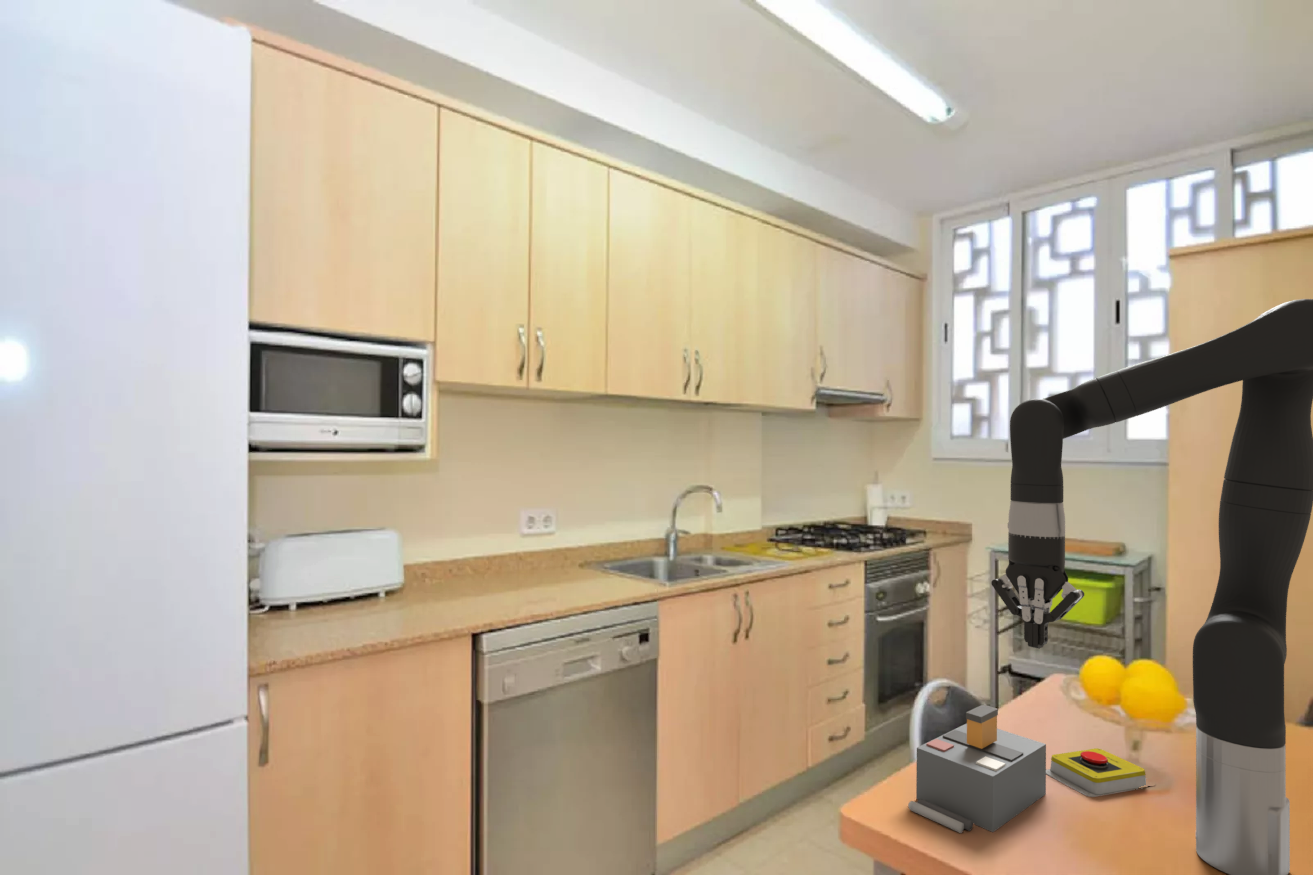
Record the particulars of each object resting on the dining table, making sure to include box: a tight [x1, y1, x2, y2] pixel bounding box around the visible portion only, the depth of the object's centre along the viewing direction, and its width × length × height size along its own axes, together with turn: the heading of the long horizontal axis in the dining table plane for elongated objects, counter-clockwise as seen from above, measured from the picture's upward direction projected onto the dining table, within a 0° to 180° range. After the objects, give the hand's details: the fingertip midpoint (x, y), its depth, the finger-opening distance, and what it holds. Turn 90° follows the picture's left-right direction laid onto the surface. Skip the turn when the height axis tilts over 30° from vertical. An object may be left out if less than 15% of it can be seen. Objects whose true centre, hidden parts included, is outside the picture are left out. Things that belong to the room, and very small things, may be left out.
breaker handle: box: [965, 704, 999, 749], centre depth 110 cm, size 2×6×5 cm, turn 129°
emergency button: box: [1046, 748, 1147, 798], centre depth 116 cm, size 9×4×15 cm
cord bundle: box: [907, 799, 974, 834], centre depth 102 cm, size 9×3×1 cm, turn 39°
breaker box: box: [915, 722, 1047, 833], centre depth 110 cm, size 12×18×8 cm, turn 129°
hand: (1035, 646), depth 104 cm, fingers closed
